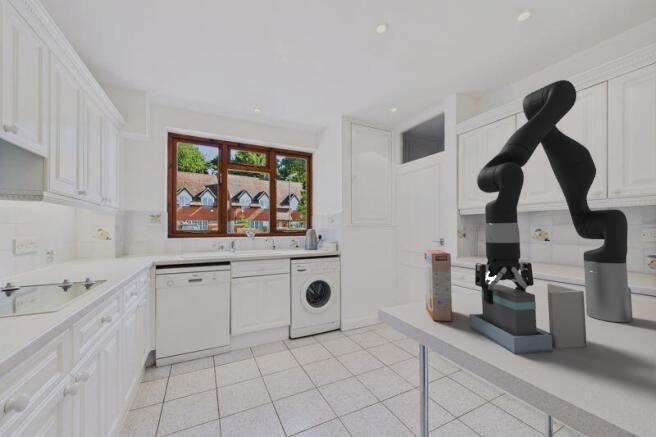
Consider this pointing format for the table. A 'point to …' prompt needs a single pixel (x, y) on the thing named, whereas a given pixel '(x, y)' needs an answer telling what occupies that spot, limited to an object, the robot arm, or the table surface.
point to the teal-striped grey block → (511, 311)
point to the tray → (512, 337)
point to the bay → (566, 317)
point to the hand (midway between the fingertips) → (505, 303)
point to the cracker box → (438, 285)
